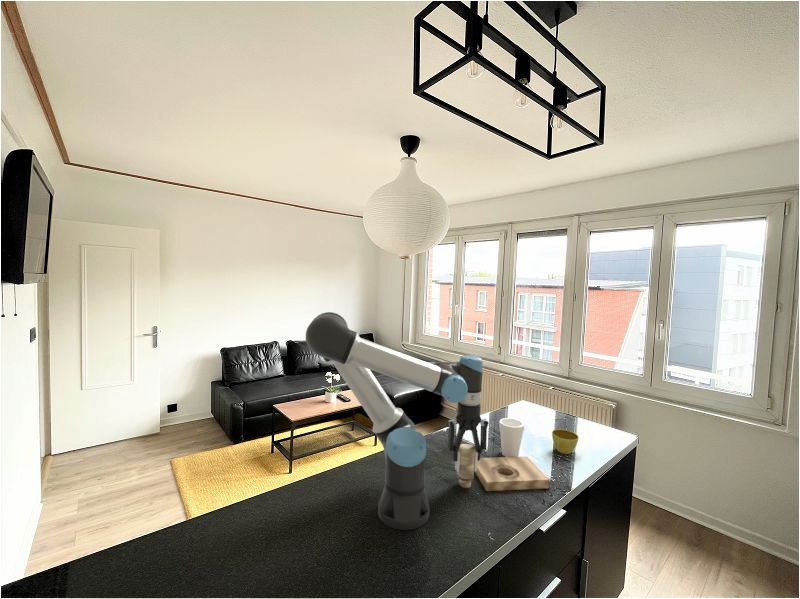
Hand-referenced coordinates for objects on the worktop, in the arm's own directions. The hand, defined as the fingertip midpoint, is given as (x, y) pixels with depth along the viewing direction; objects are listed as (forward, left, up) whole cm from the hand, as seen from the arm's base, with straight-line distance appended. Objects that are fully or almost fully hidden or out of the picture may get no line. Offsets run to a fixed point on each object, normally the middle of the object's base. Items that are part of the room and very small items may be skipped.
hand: (465, 469), depth 125 cm
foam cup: (+25, +20, -6) cm, 33 cm away
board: (+17, +4, -5) cm, 18 cm away
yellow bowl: (+49, +21, -6) cm, 54 cm away
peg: (0, 0, -5) cm, 5 cm away
